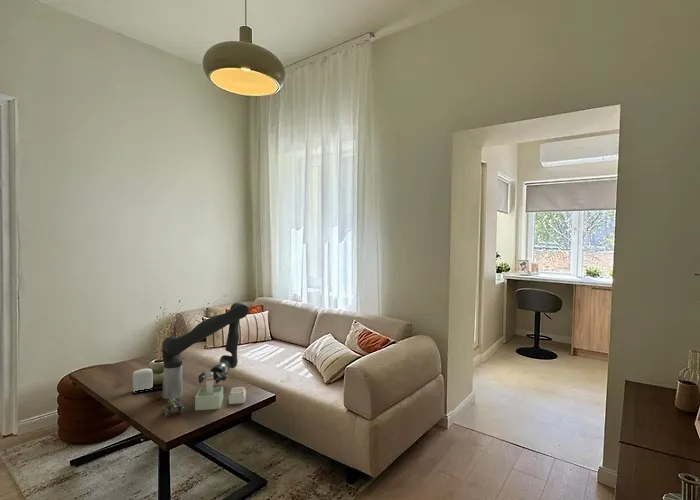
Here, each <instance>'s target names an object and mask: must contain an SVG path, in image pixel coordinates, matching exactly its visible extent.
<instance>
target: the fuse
mask: <svg viewBox="0 0 700 500" xmlns="http://www.w3.org/2000/svg"><path fill="white" fill-rule="evenodd" d="M205 374H206V380H205V388H206V396H210V395H213V387H214V380H213V372H210V371H207V372H205Z"/></svg>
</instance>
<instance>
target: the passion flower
mask: <svg viewBox="0 0 700 500" xmlns="http://www.w3.org/2000/svg"><path fill="white" fill-rule="evenodd" d="M178 397H179V398H178V400H177V399H175V398H172V397H171V398H170V397H168V398H167V397H166V399H165V400H167V402H168V403H167V404H165V405H164V406H162V407H160V405H157V406H156V409H157V410H159V409H161V410H160V416H161V415H162V414H163V413H164V412H165V414H164V418H166V417H167V416H168V414H169V413H170V411H171V410H172V409H175V408H176V409H178V412H179V414H183V412H185V409H184V408H185V406H184V404H182V403H181V401H184V400H185V399H184V398H183V396H181V397H180V396H179V395H178Z"/></svg>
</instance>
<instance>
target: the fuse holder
mask: <svg viewBox="0 0 700 500" xmlns="http://www.w3.org/2000/svg"><path fill="white" fill-rule="evenodd" d="M246 398H247V389H246V388H245V386H243V387H242V386H240V387H239V386H238V387H232V388H231V389H230V393H229V395H228V404H229V405H233V404H234V405H235V404H236V405H237V404H245V402H246Z"/></svg>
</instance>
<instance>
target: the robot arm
mask: <svg viewBox="0 0 700 500" xmlns="http://www.w3.org/2000/svg"><path fill="white" fill-rule="evenodd" d="M249 312H250V307H249V306H248V305H247V304H245V303H243V302H234V303H232V304H231V306H230V309H229V311H227V312H224V313H221V314H217V315H214V316H212V317H211V316H210V317H209V318H207V319H204V320H203V321H201V322H199V323H198V324H197V325H196V326H194V328H193V329H191V330H190V331H189V332H188V333H185V334H183V335H182V336H179V337H177V336H174V335H172V336H171V335H170V336H168V337H165V339H164V340H163V342H162V348H161V351H162V353H161V354H162V362H163V378H164V379H163V382H162V399H163V400H167V399H166V397H167V398H168V397H170V398H171V397H172V398H175V399H176V400H177V399H180V398H179V397H178V395H179V396H180V397H183V359H182V357H181V353H182V352H184V351H185V350H187V349H188V348H190V347H191V346H193V345H195V344H196V343H198V342H200V341H202V340H204V339H205V338H207V337H209V336H211V335H213V334H215V333H216V332H218V331H220V330H222V329H223V328H225V327H227V326H228V334H227V338H226V343H225V347H224V348H225V349H224V350H225V351H226V352H228V353H230V354H231V355H226V354H222V356H220V359H219V362H218V363H217V364H215V365H214V366H213V367H212V368H211V369H210V370H209V372H213V381H215V384H218V383H220V382H224V381H226V380H227V378H228V371H229V370H230V369H235V368H236V367H237V366H238V361H239V360H238V346H239V340H240V330H239V328H240V327H239V325H240V321H241V319H243V318H245V317H247V316H248V314H249ZM204 381H205V382H206V372H205V371H204V372H201V373H200V374H199V375H198V384H202V383H203V382H204Z"/></svg>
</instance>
